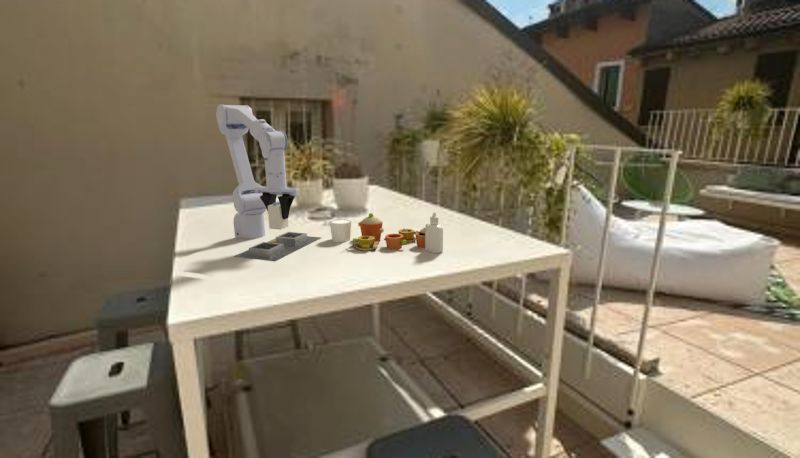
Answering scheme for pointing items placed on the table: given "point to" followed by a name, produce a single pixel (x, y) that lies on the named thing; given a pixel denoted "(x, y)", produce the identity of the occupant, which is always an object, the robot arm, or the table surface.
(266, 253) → the panel
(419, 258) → the table surface
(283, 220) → the plug
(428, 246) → the eye dropper bottle
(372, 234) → the toy tea set
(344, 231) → the white cylinder
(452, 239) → the table surface
